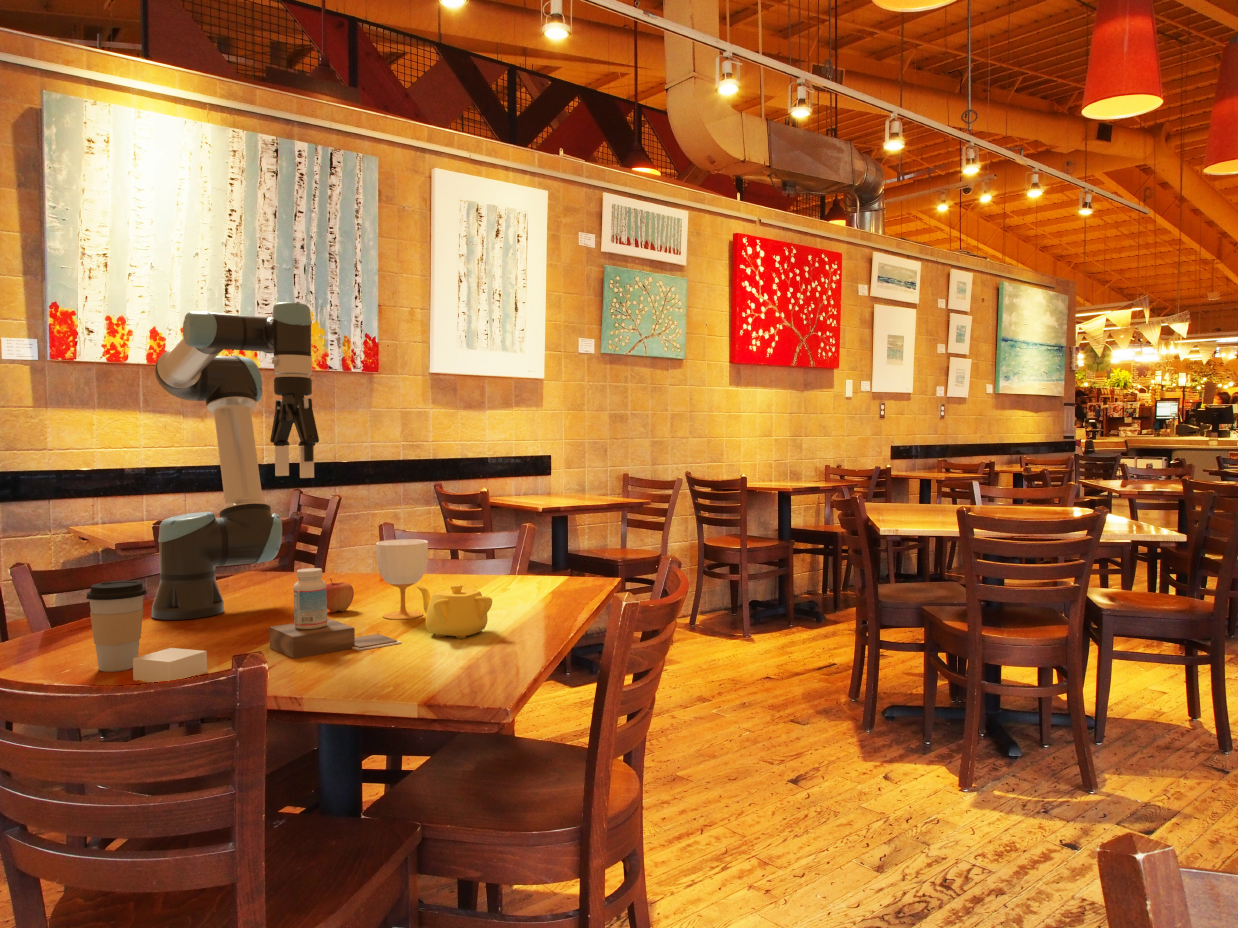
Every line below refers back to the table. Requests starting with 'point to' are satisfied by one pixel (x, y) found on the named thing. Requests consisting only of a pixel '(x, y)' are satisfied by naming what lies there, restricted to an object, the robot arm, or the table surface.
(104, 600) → the coffee cup
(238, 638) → the table surface
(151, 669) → the beige block
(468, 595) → the teapot
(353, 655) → the table surface
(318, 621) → the pill bottle
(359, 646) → the tile
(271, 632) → the walnut block
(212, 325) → the robot arm
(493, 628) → the table surface
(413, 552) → the cup
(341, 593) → the apple
